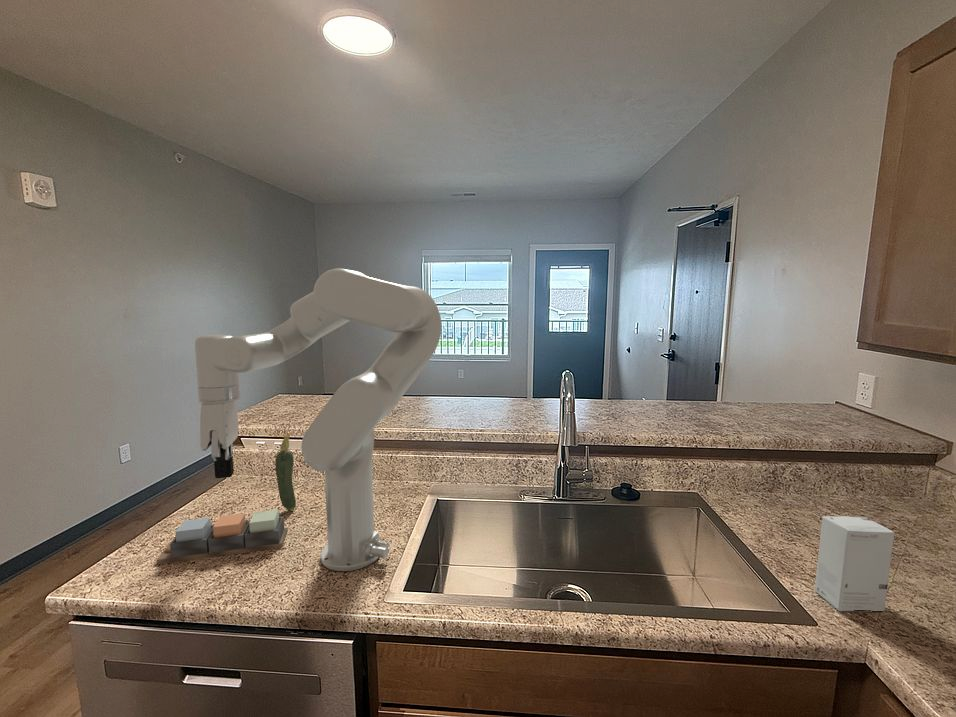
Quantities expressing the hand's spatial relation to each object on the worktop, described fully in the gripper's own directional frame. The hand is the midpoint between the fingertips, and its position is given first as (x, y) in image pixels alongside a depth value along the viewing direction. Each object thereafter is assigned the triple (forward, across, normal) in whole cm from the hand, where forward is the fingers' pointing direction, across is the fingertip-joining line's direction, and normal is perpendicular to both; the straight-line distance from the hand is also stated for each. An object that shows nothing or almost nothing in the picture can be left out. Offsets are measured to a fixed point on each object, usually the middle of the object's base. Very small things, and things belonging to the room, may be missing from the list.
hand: (224, 476), depth 94 cm
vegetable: (+16, -15, +10) cm, 24 cm away
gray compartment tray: (+16, 0, +1) cm, 16 cm away
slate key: (+14, 0, -6) cm, 16 cm away
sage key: (+14, 0, +8) cm, 16 cm away
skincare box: (+14, +49, +113) cm, 124 cm away
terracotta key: (+14, 0, +1) cm, 14 cm away
